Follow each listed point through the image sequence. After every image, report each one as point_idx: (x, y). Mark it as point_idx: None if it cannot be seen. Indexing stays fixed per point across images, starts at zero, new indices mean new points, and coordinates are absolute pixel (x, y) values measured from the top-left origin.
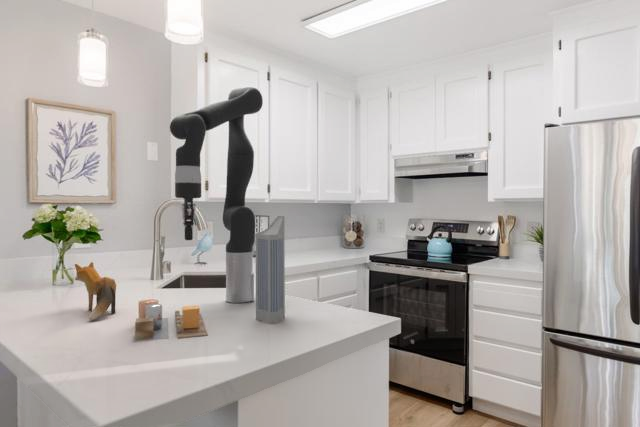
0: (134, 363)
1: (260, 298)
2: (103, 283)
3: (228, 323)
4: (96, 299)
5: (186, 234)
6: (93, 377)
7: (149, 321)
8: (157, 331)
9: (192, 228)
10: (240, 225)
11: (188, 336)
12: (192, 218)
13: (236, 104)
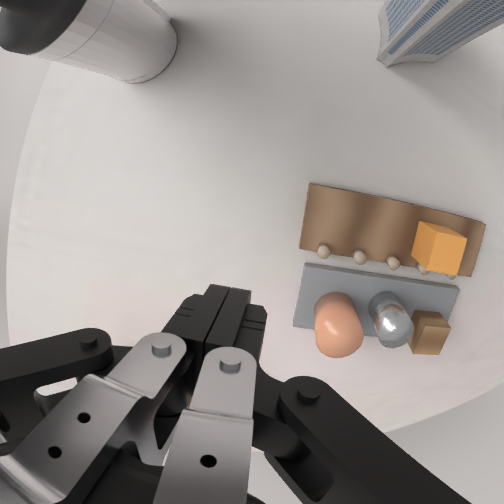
0: (493, 333)
1: (418, 46)
2: None
3: (391, 136)
4: None
5: (259, 358)
6: (495, 367)
7: (448, 333)
8: (408, 302)
9: (234, 342)
10: None
11: (476, 258)
12: (393, 458)
13: None
